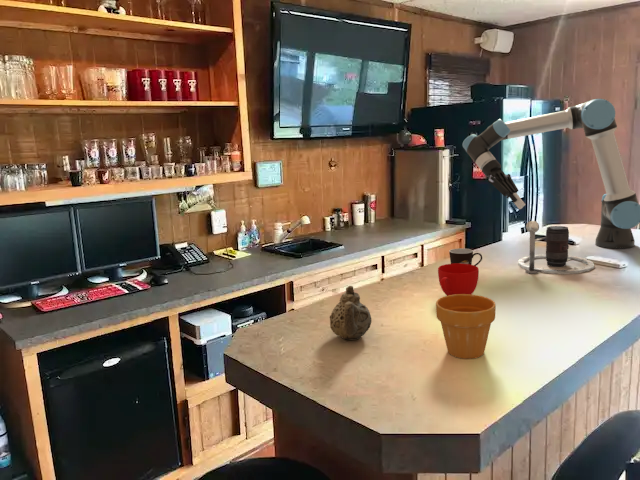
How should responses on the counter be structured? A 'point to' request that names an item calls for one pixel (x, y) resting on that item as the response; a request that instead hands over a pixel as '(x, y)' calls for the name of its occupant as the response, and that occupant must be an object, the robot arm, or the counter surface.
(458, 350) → the flower pot
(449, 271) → the ceramic cup
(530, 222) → the metal stand with knob
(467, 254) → the coffee mug
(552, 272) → the grey flat ring
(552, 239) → the camera lens
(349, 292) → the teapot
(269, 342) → the counter surface
